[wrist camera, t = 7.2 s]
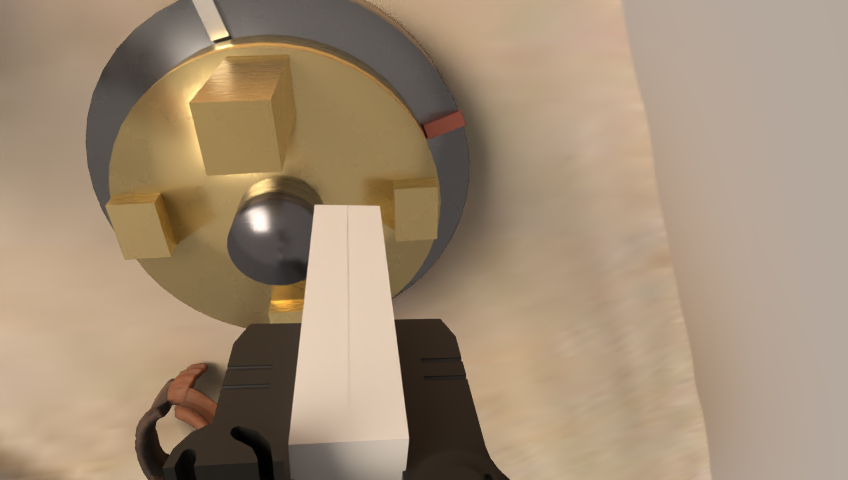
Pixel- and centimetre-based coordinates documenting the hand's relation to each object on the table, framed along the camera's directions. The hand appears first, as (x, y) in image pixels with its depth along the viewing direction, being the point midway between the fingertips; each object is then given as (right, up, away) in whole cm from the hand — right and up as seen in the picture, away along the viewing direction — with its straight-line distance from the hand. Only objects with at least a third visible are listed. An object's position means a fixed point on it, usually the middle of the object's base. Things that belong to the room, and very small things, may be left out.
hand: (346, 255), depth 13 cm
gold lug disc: (-5, +3, +14) cm, 15 cm away
